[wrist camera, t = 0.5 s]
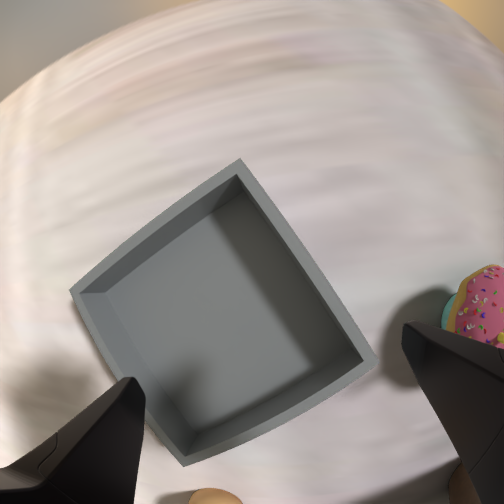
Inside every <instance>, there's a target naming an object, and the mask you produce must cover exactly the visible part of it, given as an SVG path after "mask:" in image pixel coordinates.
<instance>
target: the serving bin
mask: <svg viewBox="0 0 504 504" xmlns="http://www.w3.org/2000/svg"><path fill="white" fill-rule="evenodd" d="M69 291H70V293H71V295H72V297H73V300H74V302H75V304H76V306H77V308H78V310H79V312H80V314H81V316H82V318H83V320H84V322H85V324H86V326H87V328H88V330H89V332H90V334H91V336H92V338H93V340H94V342H95V343H96V345H97V347H98V349H99V351H100V352H101V354H102V356H103V358H104V359H105V361H106V363H107V364H108V366H109V368H110V369H111V371H112V373H113V374H114V376H115V377H116V379H117V381H119V380H121V379H122V378H123V377H135V378H136V379H137V381H138V382H139V384H140V386H141V388H142V389H143V391H144V393H145V396H146V406H145V421H146V422H147V424H148V425H149V426H150V428H151V429H152V430H153V432H154V433H155V434H156V435H157V437H158V438H159V439H160V440H161V442H162V443H163V444H164V445H165V446H166V448H167V449H168V450H169V451H170V452H171V454H172V455H173V456H174V457H175V458H176V459H177V460H178V462H179V463H180V464H181V465H182V466H183V467H185V466H188V465H191V464H194V463H196V462H199V461H202V460H205V459H207V458H210V457H212V456H215V455H217V454H220V453H222V452H225V451H227V450H230V449H232V448H234V447H237V446H239V445H241V444H243V443H245V442H248V441H250V440H252V439H254V438H256V437H258V436H260V435H262V434H265V433H267V432H269V431H271V430H273V429H275V428H276V427H278V426H280V425H282V424H284V423H286V422H288V421H290V420H292V419H293V418H295V417H297V416H299V415H301V414H302V413H304V412H306V411H308V410H309V409H311V408H313V407H314V406H316V405H318V404H319V403H321V402H323V401H324V400H326V399H328V398H329V397H331V396H332V395H334V394H335V393H337V392H339V391H340V390H342V389H343V388H345V387H346V386H348V385H349V384H351V383H352V382H354V381H355V380H356V379H358V378H359V377H361V376H362V375H364V374H365V373H366V372H368V371H369V370H371V369H372V368H373V367H375V366H376V365H377V364H379V363H380V362H379V360H378V358H377V357H376V355H375V353H374V352H373V350H372V349H371V347H370V345H369V344H368V342H367V341H366V339H365V337H364V336H363V334H362V333H361V331H360V329H359V328H358V326H357V325H356V323H355V322H354V320H353V318H352V317H351V315H350V314H349V312H348V311H347V309H346V308H345V306H344V305H343V303H342V301H341V300H340V298H339V297H338V295H337V294H336V292H335V291H334V289H333V288H332V286H331V285H330V283H329V282H328V280H327V279H326V277H325V276H324V274H323V273H322V271H321V270H320V268H319V267H318V265H317V264H316V263H315V261H314V260H313V258H312V257H311V255H310V254H309V252H308V251H307V249H306V248H305V247H304V245H303V244H302V242H301V241H300V239H299V238H298V236H297V235H296V234H295V232H294V231H293V229H292V228H291V227H290V225H289V224H288V222H287V221H286V220H285V218H284V217H283V215H282V214H281V213H280V211H279V210H278V208H277V207H276V206H275V204H274V203H273V201H272V200H271V199H270V197H269V196H268V195H267V193H266V192H265V191H264V189H263V188H262V186H261V185H260V184H259V182H258V181H257V180H256V178H255V177H254V176H253V174H252V173H251V172H250V170H249V169H248V168H247V166H246V165H245V164H244V162H243V161H242V160H241V158H240V159H238V160H236V161H235V162H233V163H232V164H230V165H229V166H227V167H226V168H224V169H223V170H221V171H220V172H218V173H217V174H215V175H214V176H212V177H211V178H210V179H208V180H207V181H205V182H204V183H202V184H201V185H199V186H198V187H197V188H195V189H194V190H192V191H191V192H190V193H188V194H187V195H185V196H184V197H183V198H181V199H180V200H178V201H177V202H176V203H174V204H173V205H172V206H170V207H169V208H168V209H166V210H165V211H164V212H162V213H161V214H160V215H158V216H157V217H156V218H154V219H153V220H152V221H150V222H149V223H148V224H147V225H145V226H144V227H143V228H141V229H140V230H139V231H138V232H136V233H135V234H134V235H133V236H131V237H130V238H129V239H128V240H126V241H125V242H124V243H123V244H121V245H120V246H119V247H118V248H117V249H115V250H114V251H113V252H112V253H110V254H109V255H108V256H107V257H106V258H105V259H103V260H102V261H101V262H100V263H99V264H98V265H96V266H95V267H94V268H93V269H92V270H91V271H89V272H88V273H87V274H86V275H85V276H84V277H83V278H82V279H80V280H79V281H78V282H77V283H76V284H75V285H74V286H73V287H72V288H70V289H69Z"/></svg>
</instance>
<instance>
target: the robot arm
mask: <svg viewBox="0 0 504 504" xmlns="http://www.w3.org/2000/svg"><path fill="white" fill-rule="evenodd" d="M401 344H402V349H403V351H404V353H405V355H406V357H407V360H408V362H409V364H410V366H411V368H412V370H413V373H414V375H415V377H416V379H417V381H418V383H419V385H420V387H421V389H422V390H423V392H424V394H425V395H426V397H427V399H428V400H429V402H430V404H431V406H432V407H433V409H434V411H435V413H436V414H437V416H438V418H439V420H440V421H441V423H442V425H443V427H444V429H445V430H446V432H447V434H448V436H449V438H450V440H451V442H452V443H453V445H454V447H455V449H456V451H457V453H458V455H459V457H460V459H461V461H462V463H463V465H464V467H465V469H466V471H467V473H468V474H469V478H470V480H471V482H472V484H473V486H474V488H475V490H476V493H477V495H478V497H479V499H480V502H481V504H504V349H502V348H497V347H496V346H493V345H490V344H487V343H484V342H481V341H477V340H474V339H471V338H468V337H465V336H462V335H459V334H456V333H453V332H450V331H447V330H444V329H441V328H438V327H435V326H432V325H429V324H426V323H423V322H420V321H417V320H412V321H409V322H406V323H405V324H404V325H403V332H402V343H401ZM145 406H146V396H145V393H144V391H143V389H142V388H141V386H140V384H139V382H138V381H137V379H136V378H135V377H123V378H122V379H121V380H119V381H118V382H117V383H116V384H115V385H113V386H112V387H111V388H110V389H109V390H107V391H106V392H105V393H104V394H103V395H101V396H100V397H99V398H98V399H96V400H95V401H94V402H93V403H92V404H90V405H89V406H88V407H87V408H85V409H84V410H83V411H82V412H81V413H79V414H78V415H77V416H76V417H74V418H73V419H72V420H71V421H70V422H68V423H67V424H66V425H65V426H63V427H62V428H61V429H60V430H58V433H57V432H56V433H55V434H53V435H52V436H51V437H50V438H48V439H47V440H46V441H45V442H43V443H42V444H41V445H39V446H38V447H36V448H35V449H33V450H32V451H30V452H29V453H27V454H26V455H24V456H23V457H21V458H20V459H18V460H17V461H15V462H14V463H12V464H10V465H9V466H7V467H4V468H0V504H134V497H135V489H136V481H137V474H138V467H139V461H140V454H141V448H142V442H143V435H144V421H145Z"/></svg>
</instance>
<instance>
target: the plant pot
mask: <svg viewBox="0 0 504 504" xmlns="http://www.w3.org/2000/svg"><path fill="white" fill-rule="evenodd" d="M448 488H449V501H450V504H481V502H480V499H479V497H478V495H477V493H476V490H475V488H474V486H473V484H472V482H471V480H470V478H469V474H468V473H467V471H466V469H465V467H464V465H463V463H461V464H460V465H459V466H458V468H457V469H456V470H455V472H454V473H453V475H452V477H451V479H450V481H449V487H448Z"/></svg>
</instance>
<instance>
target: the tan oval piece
mask: <svg viewBox="0 0 504 504" xmlns="http://www.w3.org/2000/svg"><path fill="white" fill-rule="evenodd" d="M188 504H243V503H242V502H241V500H240V499H239V498H238V497H236V496H235V495H233V494H232V493H230V492H227V491H224V490H221V489H216V488H204V489H200V490H197V491H195V492H194V493H193V494H192V496H191V498H190V500H189V502H188Z"/></svg>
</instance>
